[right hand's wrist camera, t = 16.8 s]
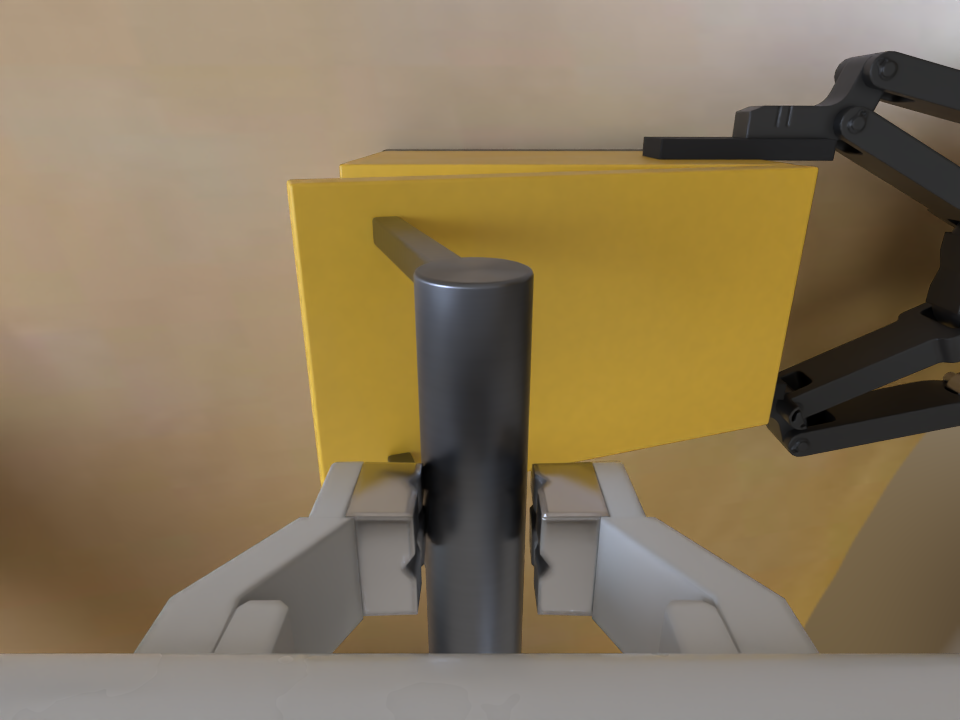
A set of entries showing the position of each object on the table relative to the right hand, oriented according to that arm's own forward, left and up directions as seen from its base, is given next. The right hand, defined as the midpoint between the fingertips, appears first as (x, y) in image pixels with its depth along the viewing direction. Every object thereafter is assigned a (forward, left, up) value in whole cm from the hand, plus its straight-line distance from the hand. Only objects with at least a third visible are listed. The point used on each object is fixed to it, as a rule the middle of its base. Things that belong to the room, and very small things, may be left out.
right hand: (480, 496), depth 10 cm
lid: (+2, +2, -10) cm, 10 cm away
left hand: (+5, +5, -17) cm, 18 cm away
